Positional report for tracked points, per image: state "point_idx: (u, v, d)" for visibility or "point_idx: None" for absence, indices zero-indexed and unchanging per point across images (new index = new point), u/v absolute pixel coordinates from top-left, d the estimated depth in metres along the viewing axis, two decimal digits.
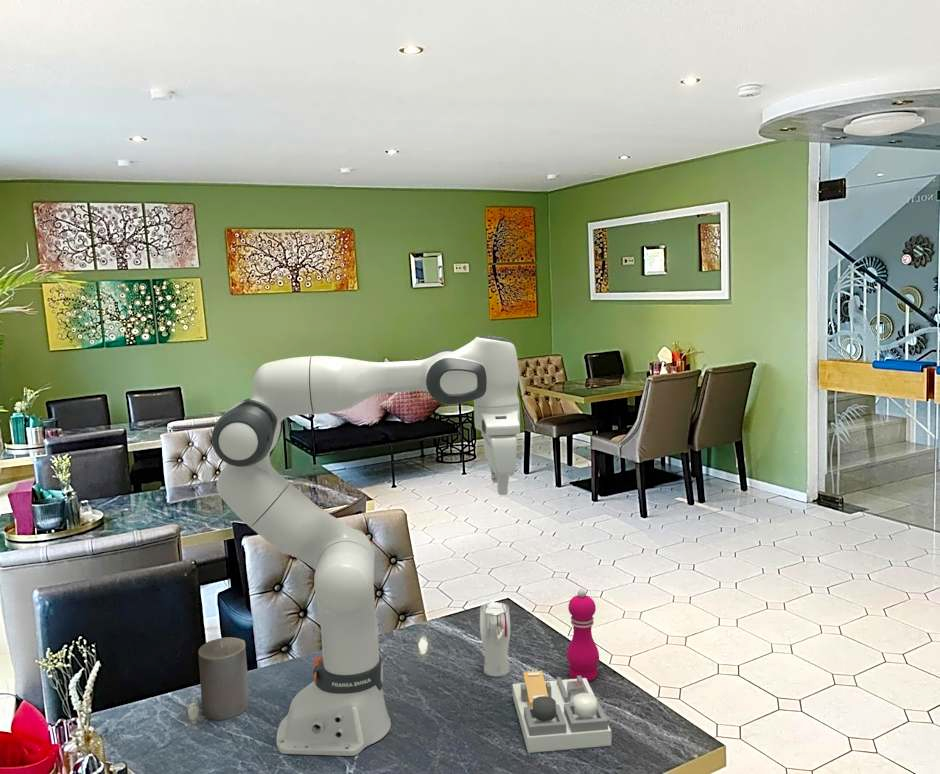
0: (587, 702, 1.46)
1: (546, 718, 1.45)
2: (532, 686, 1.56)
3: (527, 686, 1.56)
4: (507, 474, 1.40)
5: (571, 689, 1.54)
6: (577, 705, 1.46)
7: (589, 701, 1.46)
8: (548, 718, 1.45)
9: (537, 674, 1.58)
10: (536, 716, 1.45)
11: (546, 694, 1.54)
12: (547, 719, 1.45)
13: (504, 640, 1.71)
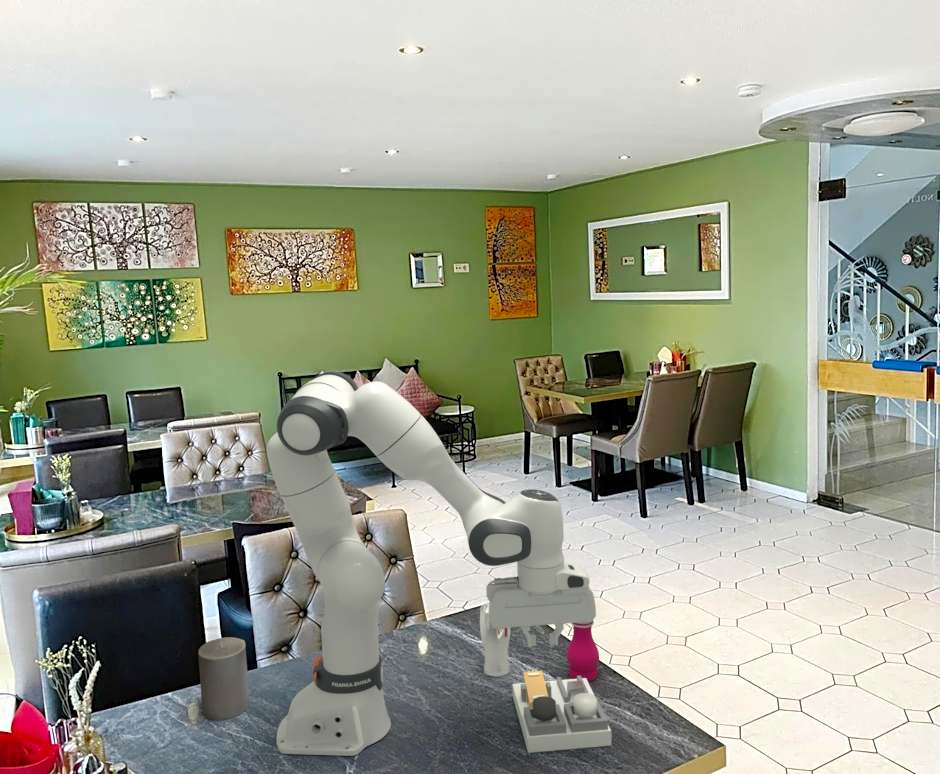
0: (587, 702, 1.46)
1: (546, 718, 1.45)
2: (532, 686, 1.56)
3: (527, 686, 1.56)
4: None
5: (571, 689, 1.54)
6: (577, 705, 1.46)
7: (589, 701, 1.46)
8: (548, 718, 1.45)
9: (537, 674, 1.58)
10: (536, 716, 1.45)
11: (546, 694, 1.54)
12: (547, 719, 1.45)
13: (504, 640, 1.71)
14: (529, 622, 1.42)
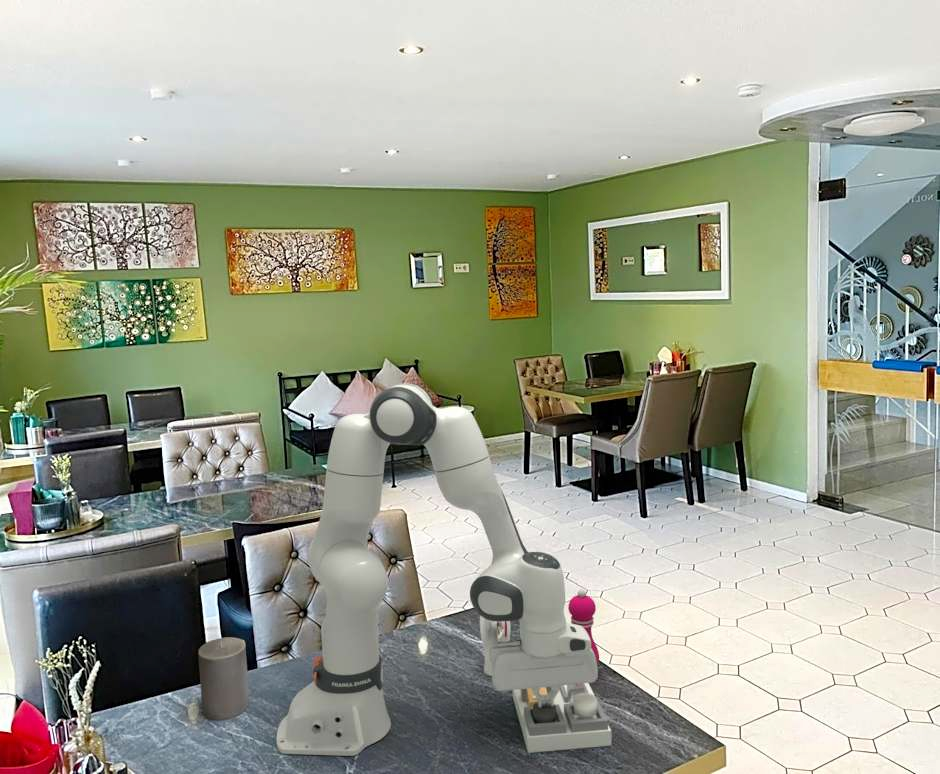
0: (587, 702, 1.46)
1: None
2: None
3: None
4: None
5: (571, 689, 1.54)
6: (577, 705, 1.46)
7: (589, 701, 1.46)
8: None
9: None
10: (536, 721, 1.46)
11: None
12: None
13: (504, 640, 1.71)
14: (532, 684, 1.44)
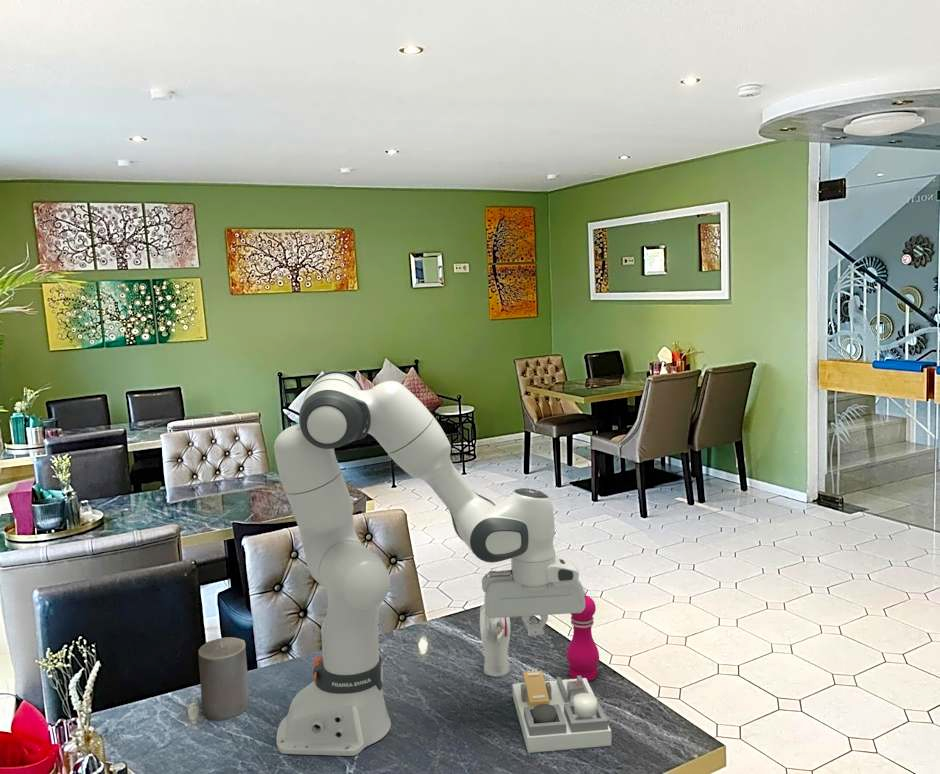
0: (587, 702, 1.46)
1: None
2: (532, 686, 1.56)
3: (527, 686, 1.56)
4: None
5: (571, 689, 1.54)
6: (577, 705, 1.46)
7: (589, 701, 1.46)
8: None
9: (537, 674, 1.58)
10: None
11: (546, 694, 1.54)
12: None
13: (504, 640, 1.71)
14: (522, 613, 1.51)
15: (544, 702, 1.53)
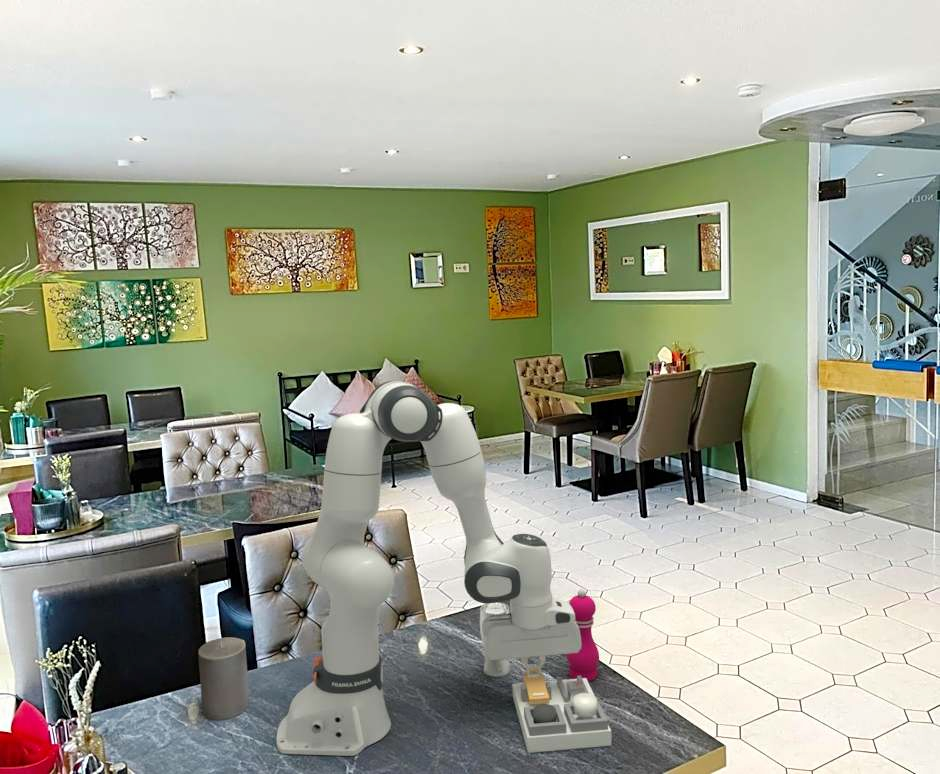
0: (587, 702, 1.46)
1: None
2: (532, 686, 1.56)
3: (527, 686, 1.56)
4: None
5: (571, 689, 1.54)
6: (577, 705, 1.46)
7: (589, 701, 1.46)
8: None
9: (537, 675, 1.59)
10: None
11: (546, 692, 1.54)
12: None
13: None
14: (521, 654, 1.57)
15: (544, 699, 1.52)
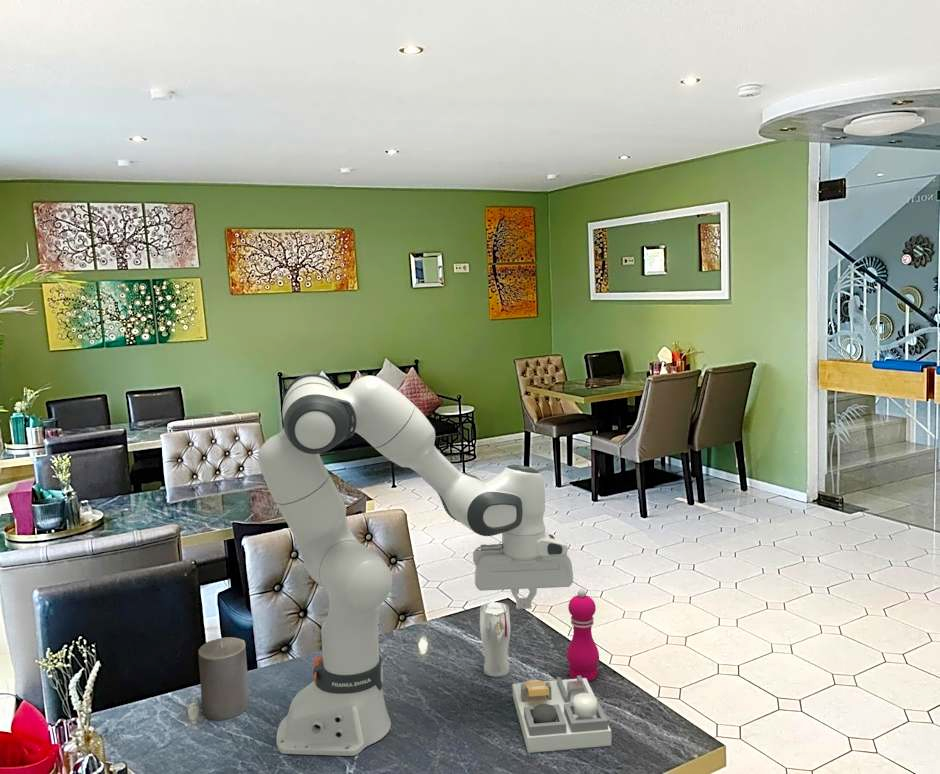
0: (587, 702, 1.46)
1: None
2: (532, 685, 1.56)
3: (527, 685, 1.56)
4: None
5: (571, 689, 1.54)
6: (577, 705, 1.46)
7: (589, 701, 1.46)
8: None
9: (537, 680, 1.59)
10: None
11: (546, 687, 1.54)
12: None
13: (504, 640, 1.71)
14: (512, 585, 1.55)
15: (544, 690, 1.52)
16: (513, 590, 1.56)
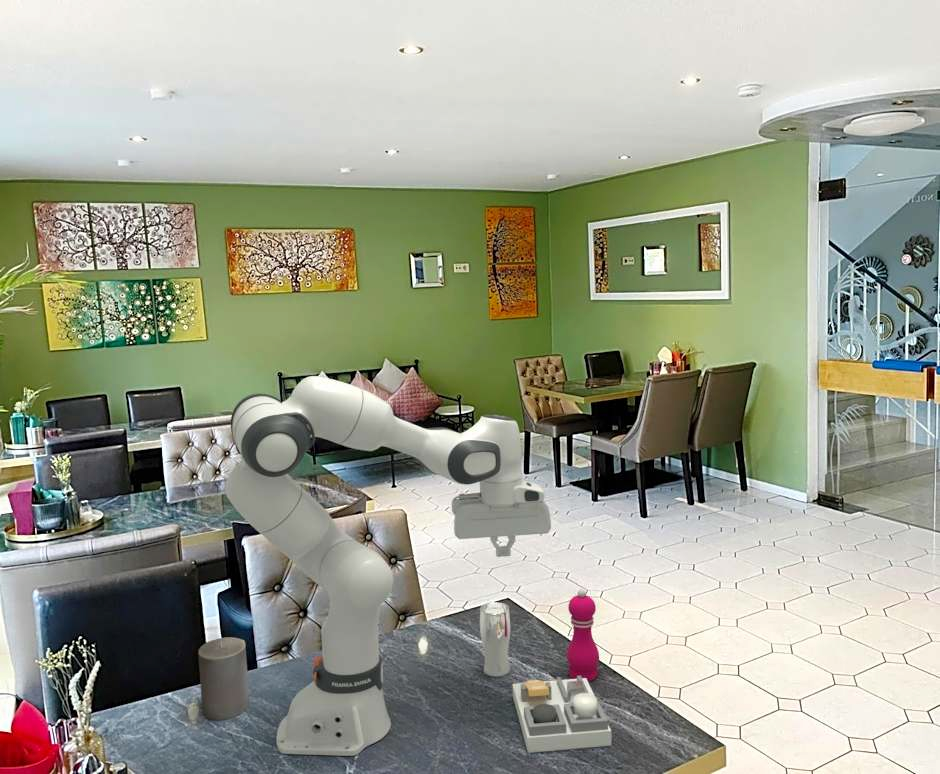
0: (587, 702, 1.46)
1: None
2: (532, 685, 1.56)
3: (527, 685, 1.56)
4: None
5: (571, 689, 1.54)
6: (577, 705, 1.46)
7: (589, 701, 1.46)
8: None
9: (537, 680, 1.59)
10: None
11: (546, 686, 1.54)
12: None
13: (504, 640, 1.71)
14: (490, 533, 1.57)
15: (544, 690, 1.52)
16: (492, 538, 1.58)
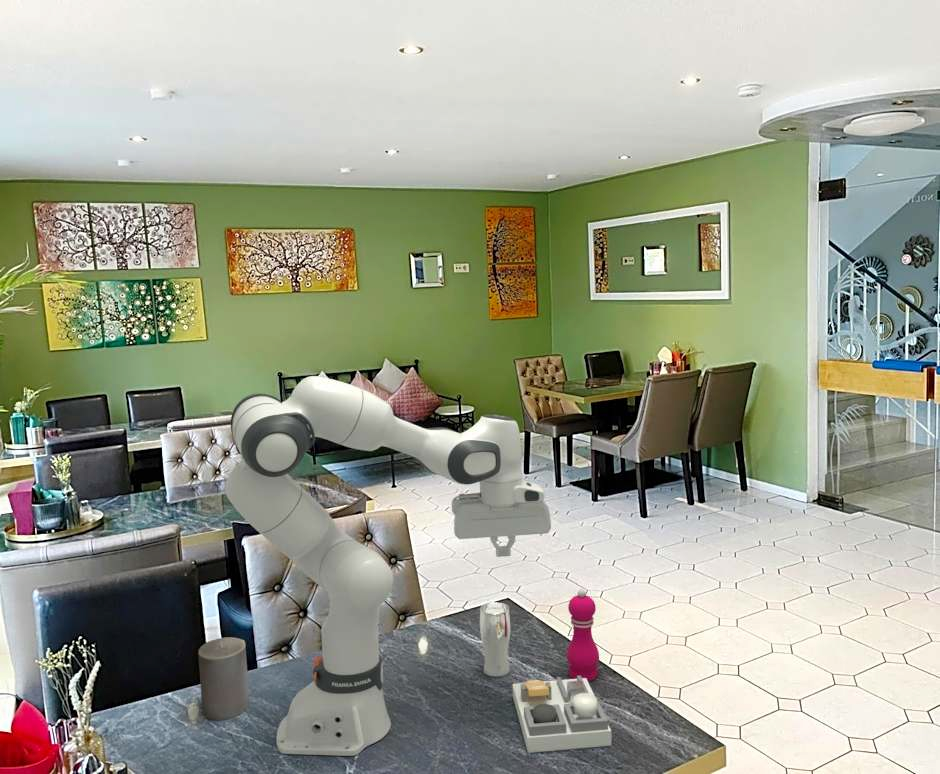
0: (587, 702, 1.46)
1: None
2: (532, 685, 1.56)
3: (527, 685, 1.56)
4: None
5: (571, 689, 1.54)
6: (577, 705, 1.46)
7: (589, 701, 1.46)
8: None
9: (537, 680, 1.59)
10: None
11: (546, 686, 1.54)
12: None
13: (504, 640, 1.71)
14: (490, 533, 1.57)
15: (544, 690, 1.52)
16: (492, 538, 1.58)
